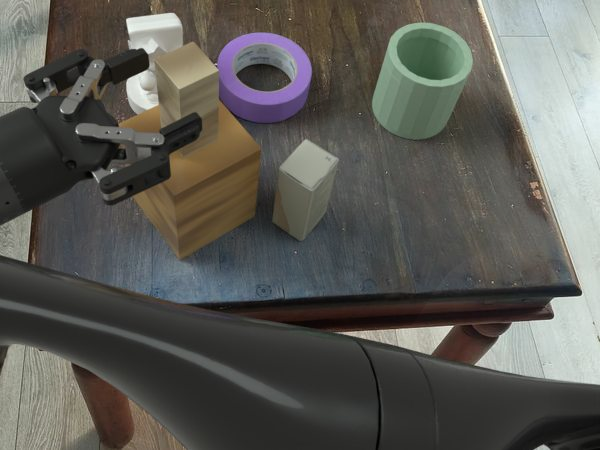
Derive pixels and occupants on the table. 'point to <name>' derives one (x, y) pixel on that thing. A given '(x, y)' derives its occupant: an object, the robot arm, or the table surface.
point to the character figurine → (151, 54)
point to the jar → (421, 80)
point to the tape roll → (268, 52)
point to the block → (189, 92)
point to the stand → (202, 185)
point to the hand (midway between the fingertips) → (172, 88)
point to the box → (304, 189)
